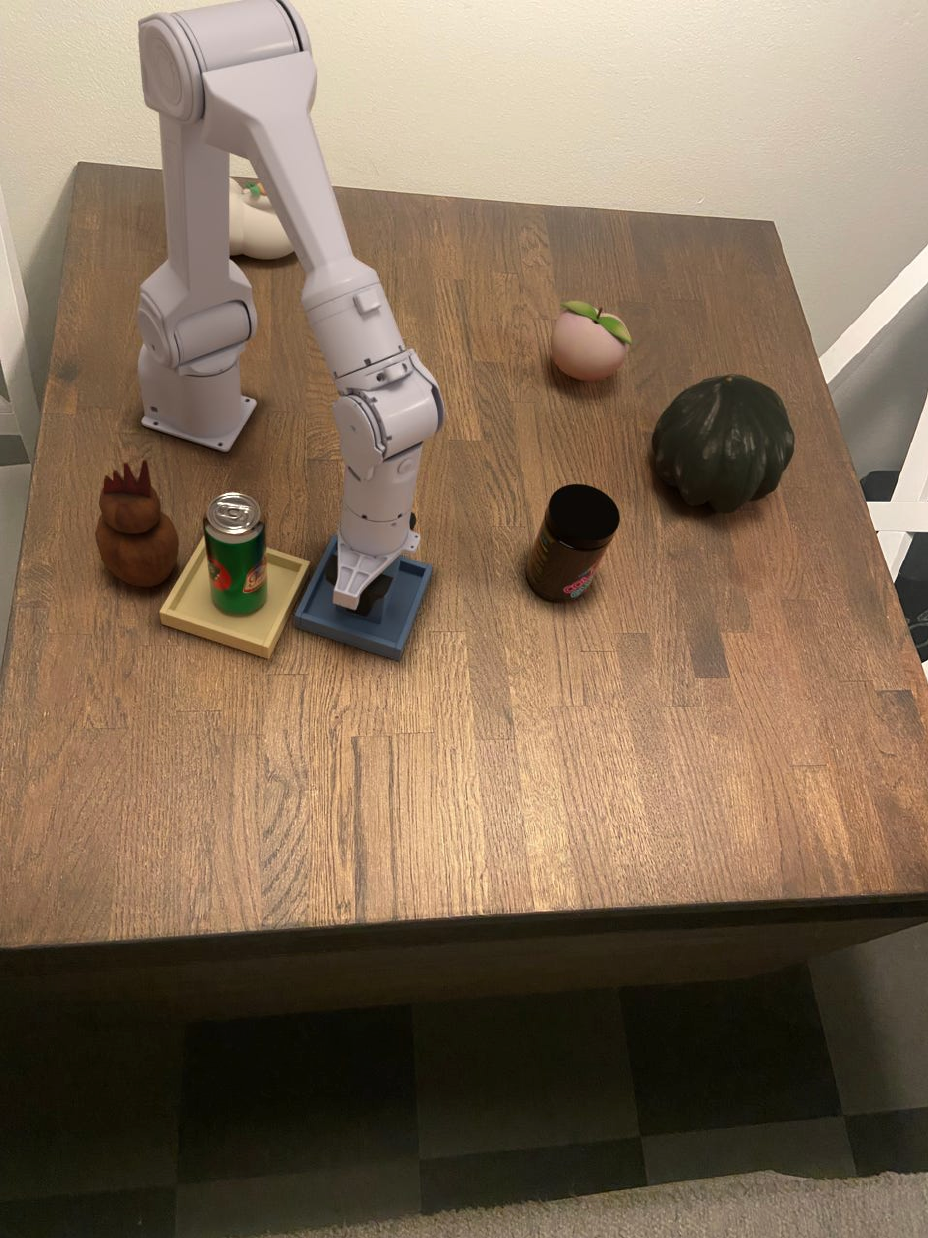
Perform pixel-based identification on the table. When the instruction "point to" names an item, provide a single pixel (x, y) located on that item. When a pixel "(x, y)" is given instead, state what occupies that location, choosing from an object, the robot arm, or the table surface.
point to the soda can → (236, 553)
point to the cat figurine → (255, 224)
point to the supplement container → (571, 541)
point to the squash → (724, 442)
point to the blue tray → (358, 632)
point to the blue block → (383, 603)
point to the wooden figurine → (135, 530)
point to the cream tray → (246, 632)
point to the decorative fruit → (588, 342)
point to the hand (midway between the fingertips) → (366, 590)
